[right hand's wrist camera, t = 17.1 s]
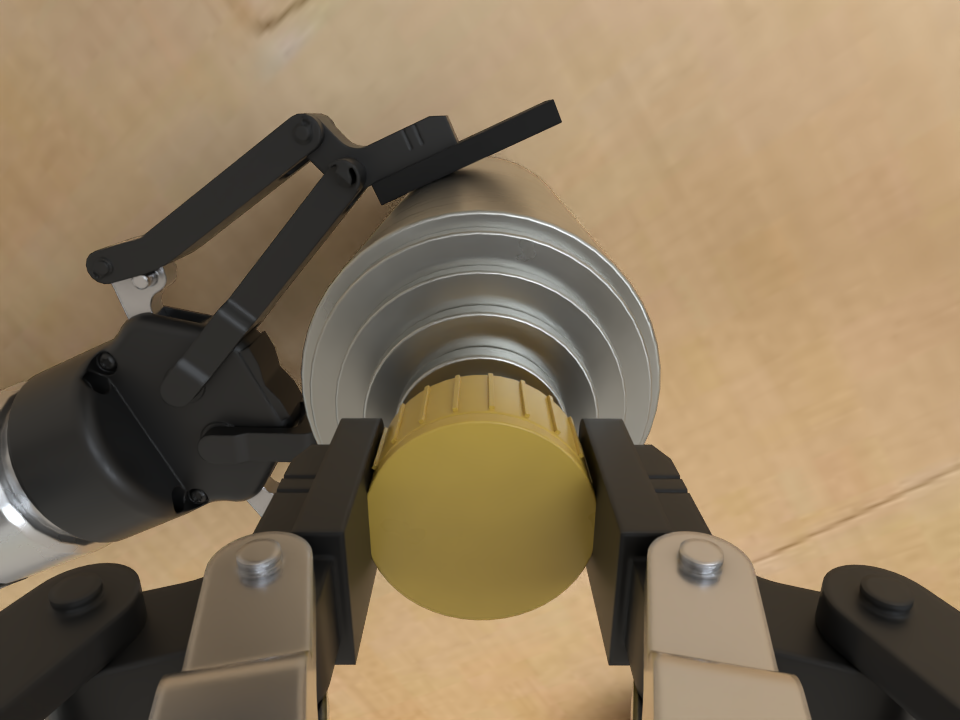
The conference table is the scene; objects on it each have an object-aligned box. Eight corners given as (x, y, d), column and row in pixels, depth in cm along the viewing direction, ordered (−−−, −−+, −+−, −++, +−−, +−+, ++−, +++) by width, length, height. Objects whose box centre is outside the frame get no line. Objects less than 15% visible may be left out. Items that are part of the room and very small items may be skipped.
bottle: (579, 323, 32) (739, 674, 12) (408, 347, 32) (295, 724, 12) (561, 142, 29) (736, 218, 9) (373, 172, 29) (153, 304, 10)
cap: (617, 405, 12) (641, 458, 10) (543, 574, 13) (553, 646, 11) (409, 343, 11) (396, 387, 10) (355, 523, 13) (335, 591, 11)
